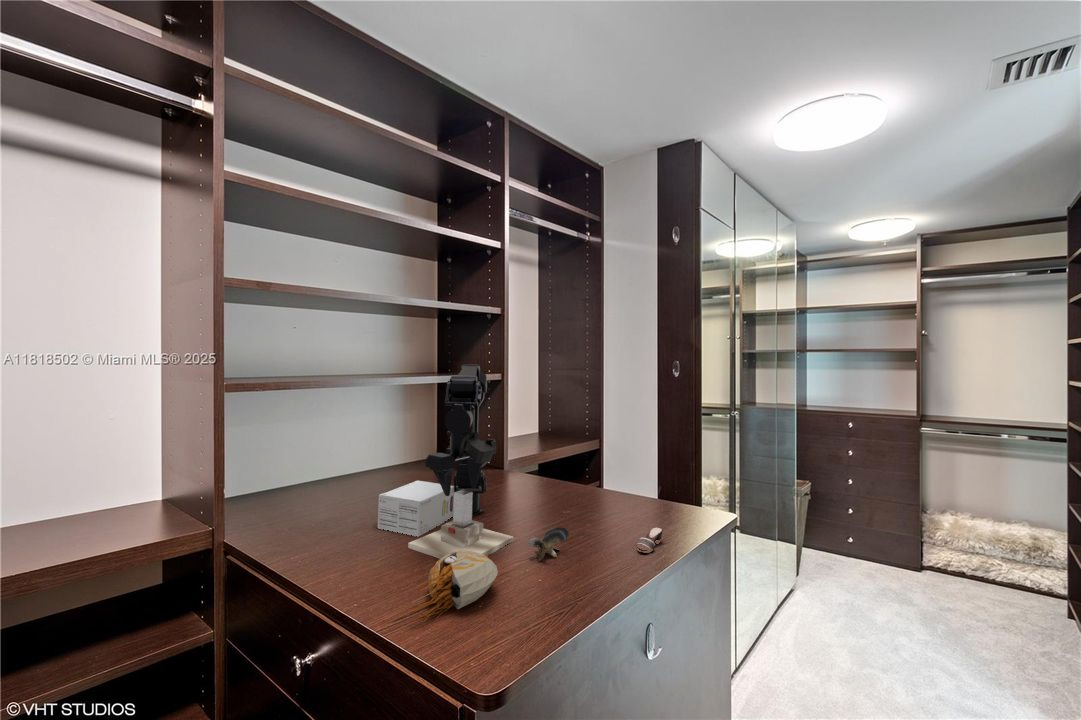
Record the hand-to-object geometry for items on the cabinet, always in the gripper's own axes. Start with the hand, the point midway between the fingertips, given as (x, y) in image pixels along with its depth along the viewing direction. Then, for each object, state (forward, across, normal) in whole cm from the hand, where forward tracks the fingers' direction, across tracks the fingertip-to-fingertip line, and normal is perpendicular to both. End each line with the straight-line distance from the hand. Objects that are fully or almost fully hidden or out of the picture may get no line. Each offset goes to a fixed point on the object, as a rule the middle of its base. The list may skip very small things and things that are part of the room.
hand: (460, 491), depth 120 cm
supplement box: (+13, +4, +20) cm, 24 cm away
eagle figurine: (+13, +8, -21) cm, 26 cm away
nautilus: (+14, -21, -17) cm, 30 cm away
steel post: (+12, 0, 0) cm, 12 cm away
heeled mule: (+13, +27, -38) cm, 49 cm away
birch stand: (+13, 0, 0) cm, 13 cm away
